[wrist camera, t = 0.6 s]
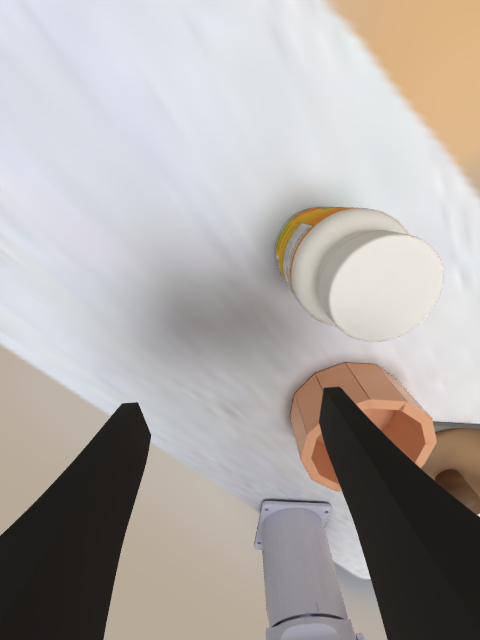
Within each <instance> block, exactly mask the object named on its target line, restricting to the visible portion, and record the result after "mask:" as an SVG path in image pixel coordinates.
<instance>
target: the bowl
mask: <svg viewBox="0 0 480 640" xmlns="http://www.w3.org/2000/svg"><path fill="white" fill-rule="evenodd" d="M327 387H341V388H342V389H343V390H344V391H345V393H346V394H347V395H348V396H349V397H350V398H351V399H352V400H353V402H354V403H355V404H356V405H357V406H358V407H359V408H360V409H361V410H362V411H363V412H364V413H365V415H366V416H367V417H368V418H369V419H370V420H371V421H372V422H373V423H374V424H375V425H376V426H377V427H378V428H379V429H380V430H381V431H382V432H383V433H384V434H385V435H386V436H387V437H388V438H389V439H390V440H391V441H392V442H393V443H394V444H395V445H396V446H397V447H398V448H399V449H400V450H401V451H402V452H403V453H404V454H406V455H407V456H408V457H409V458H410V459H411V460H412V461H413V462H414V463H415V464H416V465H417V466H419V467H420V468H421V467H422V466H423V465H424V464H425V462H426V460H427V459H428V457H429V455H430V453H431V452H432V450H433V448H434V446H435V445H436V443H437V440H436V435H435V430H434V425H433V420H432V418H431V416H430V415H429V414H428V413H427V412H426V411H425V410H424V409H423V408H422V407H421V405H420V404H419V403H418V402H417V401H416V400H415V399H414V398H413V397H412V396H411V394H410V393H409V392H408V391H407V390H406V389H405V388H404V387H403V386H402V385H401V383H400V382H399V381H398V380H397V379H396V378H394V377H393V376H392V375H390V374H389V373H387V372H386V371H384V370H383V369H381V368H380V367H378V366H377V365H375V364H362V363H348V362H345V363H342V364H339V365H336V366H333V367H331V368H328V369H325V370H323V371H320V372H317V373H315V374H314V375H313V376H312V377H311V378H310V379H309V380H308V381H307V382H306V383H305V384H304V385H303V386H302V387H301V388H300V389H299V390H298V391H297V392H296V393H295V395H294V399H293V404H292V408H291V413H290V419H291V423H292V427H293V431H294V435H295V439H296V443H297V447H298V451H299V455H300V459H301V461H302V463H303V465H304V467H305V469H306V471H307V472H308V474H309V476H310V478H311V479H312V480H313V481H316V482H318V483H320V484H322V485H324V486H326V487H328V488H330V489H332V490H334V491H342V489H341V487H340V484H339V482H338V479H337V476H336V474H335V471H334V469H333V466H332V463H331V461H330V458H329V456H328V453H327V450H326V447H325V443H324V440H323V436H322V432H321V429H320V425H319V417H320V410H321V403H322V396H323V389H324V388H327Z"/></svg>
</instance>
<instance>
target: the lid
mask: <svg viewBox="0 0 480 640" xmlns="http://www.w3.org/2000/svg"><path fill="white" fill-rule="evenodd" d="M435 435H436V440H437V443H436V445H435V446H434V448H433V450H432V452H431V453H430V455H429V457H428V459H427V460H426V462H425V464H424V465H423V466H422V467H421V469H422V470H423V471H424V472H425V473H426V474H428V475H429V476H430V477H431V478H432V479H433V480H435V481H436V482H437V483H438V484H439V485H441V486H442V487H443V488H444V489H445V490H446V491H448V492H449V493H450V494H451V495H453V496H454V497H455V498H456V499H458V500H459V501H460V502H461V503H463V504H464V505H465V506H466V507H468V508H469V509H470V510H471V511H473V512H474V513H475V514H476V515H477V514H480V430H479V429H474V428H451V429H445V430H441V431H437V432H435Z"/></svg>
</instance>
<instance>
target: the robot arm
mask: <svg viewBox="0 0 480 640" xmlns="http://www.w3.org/2000/svg"><path fill="white" fill-rule="evenodd" d="M319 425H320V429H321V432H322V436H323V440H324V443H325V447H326V450H327V453H328V456H329V458H330V461H331V463H332V466H333V469H334V471H335V474H336V476H337V479H338V482H339V484H340V487H341V489H342V492H343V494H344V497H345V500H346V502H347V505H348V507H349V510H350V513H351V515H352V518H353V521H354V524H355V527H356V530H357V533H358V536H359V540H360V543H361V546H362V550H363V553H364V556H365V560H366V563H367V567H368V570H369V574H370V577H371V581H372V584H373V588H374V591H375V595H376V598H377V602H378V606H379V609H380V613H381V617H382V620H383V624H384V628H385V632H386V635H387V639H388V640H480V517H479V516H478V515H476V514H475V513H474V512H473V511H471V510H470V509H469V508H468V507H466V506H465V505H464V504H463V503H461V502H460V501H459V500H458V499H456V498H455V497H454V496H453V495H451V494H450V493H449V492H448V491H446V490H445V489H444V488H443V487H442V486H441V485H439V484H438V483H437V482H436V481H435V480H433V479H432V478H431V477H430V476H429V475H428V474H426V473H425V472H424V471H423V470H422V469H421V468H420V467H419V466H417V465H416V464H415V463H414V462H413V461H412V460H411V459H410V458H409V457H408V456H407V455H406V454H404V453H403V452H402V451H401V450H400V449H399V448H398V447H397V446H396V445H395V444H394V443H393V442H392V441H391V440H390V439H389V438H388V437H387V436H386V435H385V434H384V433H383V432H382V431H381V430H380V429H379V428H378V427H377V426H376V425H375V424H374V423H373V422H372V421H371V420H370V419H369V418H368V417H367V416H366V415H365V413H364V412H363V411H362V410H361V409H360V408H359V407H358V406H357V405H356V404H355V403H354V402H353V400H352V399H351V398H350V397H349V396H348V395H347V394H346V393H345V391H344V390H343V389H342V388H341V387H327V388H324V389H323V396H322V403H321V410H320V417H319ZM150 439H151V434H150V431H149V429H148V426H147V424H146V421H145V419H144V416H143V414H142V412H141V409H140V407H139V404H138V402H137V403H124V404H121V406H120V407H119V408H118V409H117V410H116V411H115V413H114V414H113V415H112V416H111V417H110V419H109V420H108V421H107V422H106V423H105V425H104V426H103V427H102V428H101V429H100V431H99V432H98V433H97V434H96V435H95V437H94V438H93V439H92V440H91V441H90V442H89V444H88V445H87V446H86V447H85V448H84V449H83V451H82V452H81V453H80V454H79V455H78V457H77V458H76V459H75V460H74V461H73V462H72V463H71V464H70V466H69V467H68V468H67V469H66V470H65V471H64V472H63V473H62V474H61V475H60V476H59V477H58V479H57V480H56V481H55V482H54V483H53V484H52V485H51V486H50V487H49V488H48V489H47V490H46V491H45V492H44V493H43V495H42V496H41V497H40V498H39V499H38V500H37V501H36V502H35V503H34V504H33V505H32V506H31V507H30V508H29V509H28V510H27V511H26V512H25V513H24V514H23V515H22V516H21V517H20V518H19V519H18V520H16V521H15V523H14V524H12V525H11V526H10V527H9V528H8V529H7V530H6V531H5V532H4V533H3V534H2V535H1V536H0V640H103V639H104V632H105V627H106V621H107V616H108V611H109V606H110V601H111V595H112V591H113V585H114V581H115V576H116V571H117V567H118V562H119V557H120V553H121V548H122V544H123V540H124V536H125V533H126V529H127V526H128V522H129V519H130V516H131V512H132V509H133V505H134V502H135V499H136V496H137V492H138V489H139V486H140V482H141V479H142V476H143V472H144V468H145V465H146V461H147V456H148V451H149V445H150ZM331 510H332V508H331V505H330V504H326V503H304V502H282V501H264V502H263V503H262V508H261V513H260V517H259V523H258V527H257V532H256V538H255V542H254V548H255V549H260V550H262V554H263V567H264V581H265V596H266V609H267V616H268V620H269V625H270V628H267V629H266V640H367V639H366V638H365V637H364V636H363V634H362V633H356V638H355V634H354V631H353V627H352V623H351V620H350V619H348V616H347V613H346V609H345V605H344V601H343V598H342V594H341V590H340V586H339V583H338V579H337V575H336V571H335V568H334V564H333V560H332V556H331V553H330V549H329V545H328V541H327V538H326V534H325V530H324V528H325V525H326V522H327V520H328V517H329V515H330V512H331Z"/></svg>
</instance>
